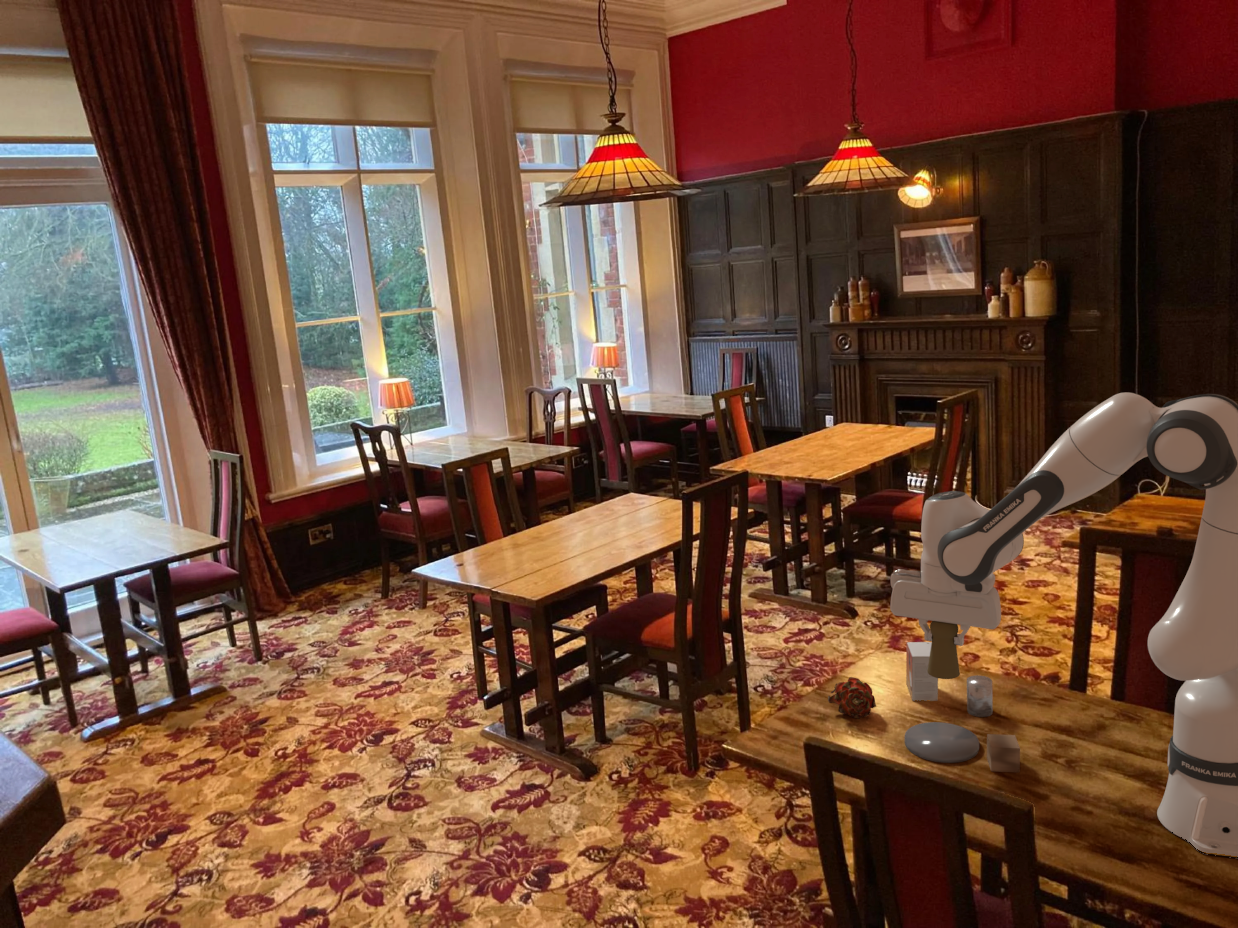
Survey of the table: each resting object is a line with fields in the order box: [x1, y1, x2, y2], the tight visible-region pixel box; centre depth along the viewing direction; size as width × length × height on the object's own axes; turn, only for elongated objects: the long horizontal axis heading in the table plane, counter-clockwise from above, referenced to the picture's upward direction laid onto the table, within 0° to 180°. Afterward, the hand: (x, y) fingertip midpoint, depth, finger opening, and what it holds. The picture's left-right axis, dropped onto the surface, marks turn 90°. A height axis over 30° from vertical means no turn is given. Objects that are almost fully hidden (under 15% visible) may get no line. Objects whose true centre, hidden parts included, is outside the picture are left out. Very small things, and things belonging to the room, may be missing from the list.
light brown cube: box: [986, 733, 1021, 773], centre depth 183 cm, size 5×5×5 cm
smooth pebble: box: [904, 721, 980, 764], centre depth 192 cm, size 14×14×1 cm
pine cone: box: [827, 676, 877, 719], centre depth 206 cm, size 8×8×12 cm
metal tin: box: [966, 675, 993, 718], centre depth 203 cm, size 5×5×7 cm
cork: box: [927, 621, 960, 680], centre depth 188 cm, size 6×6×11 cm
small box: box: [905, 641, 939, 702], centre depth 213 cm, size 8×6×10 cm
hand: (944, 641), depth 188 cm, fingers closed on cork, 4 cm apart
